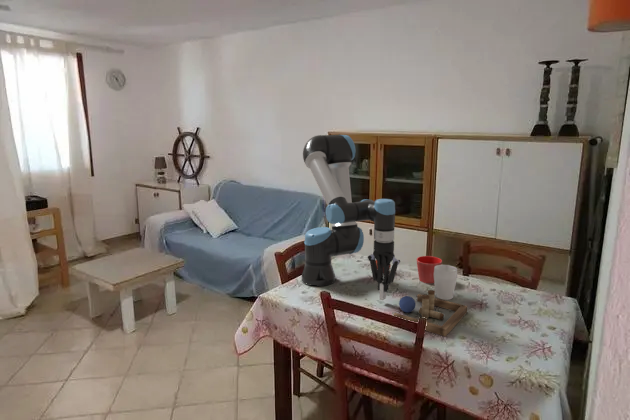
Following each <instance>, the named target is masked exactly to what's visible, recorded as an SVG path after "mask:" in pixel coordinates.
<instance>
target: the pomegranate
mask: <svg viewBox="0 0 630 420" xmlns="http://www.w3.org/2000/svg"><path fill="white" fill-rule="evenodd" d="M375 260H376V259H375ZM391 264H392V263H390V266H389V270H391V268H392V265H391ZM376 265H377V260H376ZM377 270H378V266H377ZM383 274H384V267H383Z"/></svg>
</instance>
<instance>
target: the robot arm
mask: <svg viewBox="0 0 630 420" xmlns="http://www.w3.org/2000/svg"><path fill="white" fill-rule="evenodd" d="M356 152H357V151H356V145H355V142H354V140H353V139H352V137H351V136H350V135H348V134H347V135H346V134H325V135H322V134H320V135H319V134H318V135H314V136H312V137H311V138H309V139H308V140H307V142H305V145H304V147H303V150H302V159H303V162H304V165H305V166H306V167H307V168H308V169H310V172H311V173H312V176H313V178H314V180H315V182H316V184H317V186H318V189H319V190H320V192H321V194H322V196H323V199H324V201H325V202H326V205H327V206H326V207H325V217H326V221H327V222H328V223H330V224H331V228H330V227H327V226H323V227H321V226H319V227H315V228H311V229H309V230H307V231H306V232H305V234H304V240H303V241H304V242H303V243H304V265H303V267H304V268H303V270H302V272H301V273H302V274H301V282H302V281H303V282H304V283H307V284H311V285H317V286H316V287H325V286H324V285H326V286H329V284H330V285H332V284H334V283H335V282H336V274H335V270H334V268H333V265H332V257H336V256H343V255H353V254H356V253H359V252H360V251H361V250H362V248H363V245H364V242H365V237H364V232H363V229H362V228H361V227H360V226H358V223H357V222H363V221H371V222H374V225H373V226H374V227H373V239H374V241H373V253H372V254H370V255H368V256H367V260H368V261H369V264H370V269H371V275H372V279H373V281H376V282H377V291H379V300H381V301H384V300H385V299H387V292H389V285H390V284H392V283H393V282H394V280H395V277H396V272H397V269H398V266H399V264H400V263H401V260H400V259H397V257H395V253H394V252H395V241H394V240H395V226H396V225H395V224H396V222H395V221H396V202H395V201H394V199H390V198H379V199H375V200H372V199H367V198H366V199H365V198H364V199H361V200H359V201H355V202H352V201H353V200H352V190H351V179H350V170H349V169H350V166H351V165H352V161H353V160H354V158H356V157H355V156H356ZM376 260H377V265H376ZM390 264H392V265H391V267H390V269H389V266H390ZM377 266H378V269H377ZM383 267H384V273H383ZM303 282H302V283H303ZM304 283H303V284H304Z"/></svg>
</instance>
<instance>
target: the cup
mask: <svg viewBox="0 0 630 420" xmlns="http://www.w3.org/2000/svg"><path fill="white" fill-rule="evenodd" d="M457 279H458V268H457V267H455V266H454V265H451V264H441V265H437V266H435V267H434V283H433V285H434V291H435V298H437V299H441V300H445V301H449V300H452V299H453V298H454V293H455V289H456V285H457Z"/></svg>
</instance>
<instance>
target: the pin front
mask: <svg viewBox="0 0 630 420" xmlns="http://www.w3.org/2000/svg"><path fill="white" fill-rule="evenodd" d="M418 314H419V315H422V306H421V307H419V308H418ZM428 318H433V319H436V320H440V321H443V320H444V318H445V313H444V312H440V311H436V310H434V311H432V310H429V316H428Z"/></svg>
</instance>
